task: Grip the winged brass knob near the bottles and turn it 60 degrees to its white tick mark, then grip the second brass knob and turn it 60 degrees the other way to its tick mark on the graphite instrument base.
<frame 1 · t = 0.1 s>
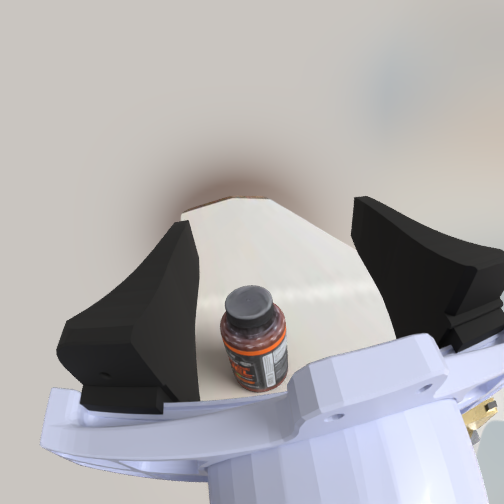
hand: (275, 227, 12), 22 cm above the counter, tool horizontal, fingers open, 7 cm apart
supplement bottle: (261, 372, 30), on the counter
knob 2: (463, 423, 16), point 4 cm above the counter, hinge at 0.0°
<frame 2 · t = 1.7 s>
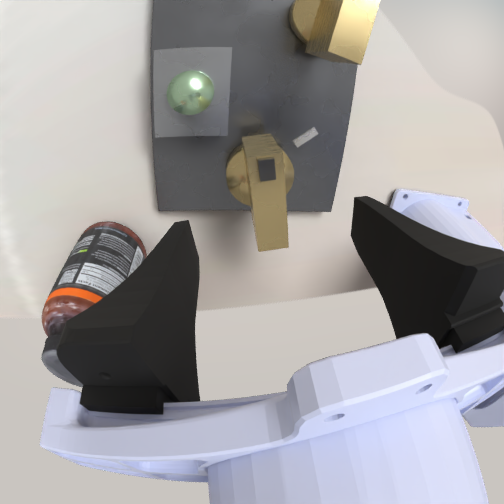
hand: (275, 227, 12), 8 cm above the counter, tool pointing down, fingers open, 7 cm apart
supplement bottle: (114, 248, 22), on the counter
knob 2: (340, 14, 10), point 4 cm above the counter, hinge at 0.0°
instrument base: (253, 88, 15), on the counter
knob 1: (263, 186, 15), point 4 cm above the counter, hinge at 0.0°
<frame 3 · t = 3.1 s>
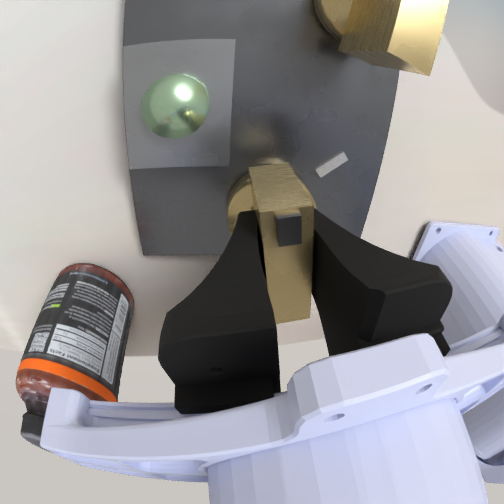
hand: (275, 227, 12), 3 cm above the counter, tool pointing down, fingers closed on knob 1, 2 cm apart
supplement bottle: (96, 290, 18), on the counter
knob 2: (389, 1, 6), point 4 cm above the counter, hinge at 0.0°
instrument base: (263, 97, 11), on the counter
knob 1: (278, 237, 12), point 4 cm above the counter, hinge at 0.0°, touching gripper
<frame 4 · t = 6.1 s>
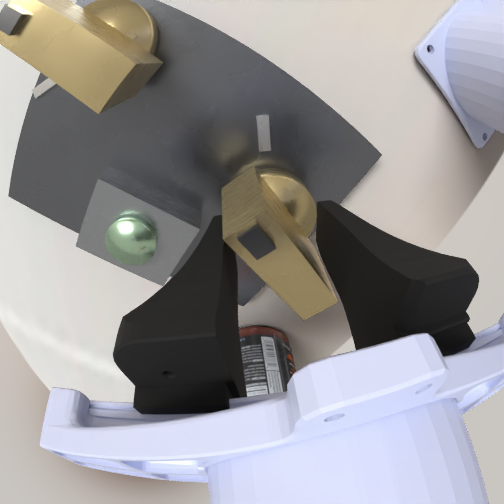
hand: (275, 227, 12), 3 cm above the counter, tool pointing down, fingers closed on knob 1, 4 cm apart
supplement bottle: (252, 342, 23), on the counter
knob 2: (84, 43, 6), point 4 cm above the counter, hinge at 0.0°
instrument base: (173, 155, 13), on the counter
knob 1: (278, 237, 12), point 4 cm above the counter, hinge at -29.4°, touching gripper
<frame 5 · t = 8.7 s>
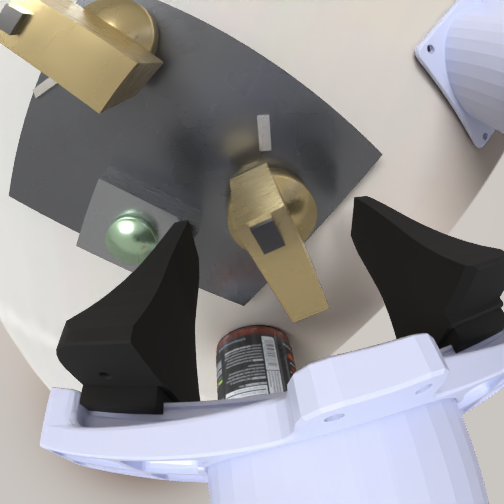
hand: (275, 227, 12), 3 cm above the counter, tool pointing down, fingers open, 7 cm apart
supplement bottle: (252, 342, 23), on the counter
knob 2: (85, 43, 6), point 4 cm above the counter, hinge at 0.0°
instrument base: (174, 154, 13), on the counter
knob 1: (278, 237, 12), point 4 cm above the counter, hinge at -39.5°
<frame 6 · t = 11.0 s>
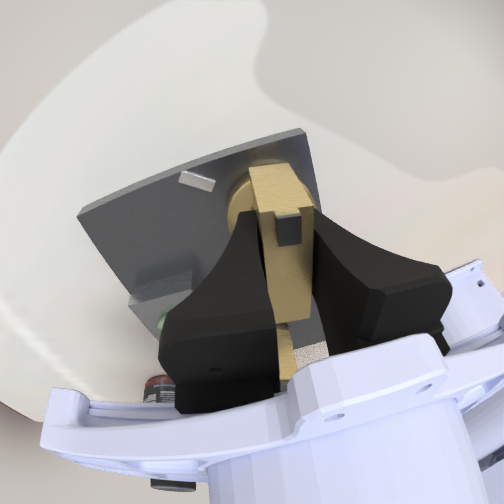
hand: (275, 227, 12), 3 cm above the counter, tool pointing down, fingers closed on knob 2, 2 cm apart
supplement bottle: (173, 384, 26), on the counter
knob 2: (278, 237, 12), point 4 cm above the counter, hinge at 0.0°, touching gripper
instrument base: (231, 281, 18), on the counter
knob 1: (267, 368, 18), point 4 cm above the counter, hinge at -41.8°
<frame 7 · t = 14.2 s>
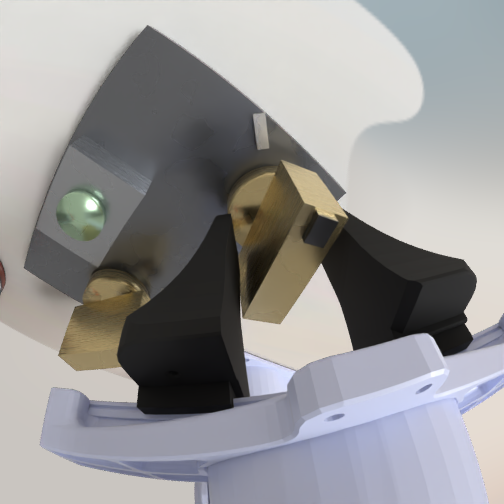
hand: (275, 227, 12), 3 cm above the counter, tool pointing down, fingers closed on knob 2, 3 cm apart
knob 2: (279, 236, 11), point 4 cm above the counter, hinge at 32.0°, touching gripper
instrument base: (153, 222, 15), on the counter
knob 1: (108, 326, 14), point 4 cm above the counter, hinge at -42.5°
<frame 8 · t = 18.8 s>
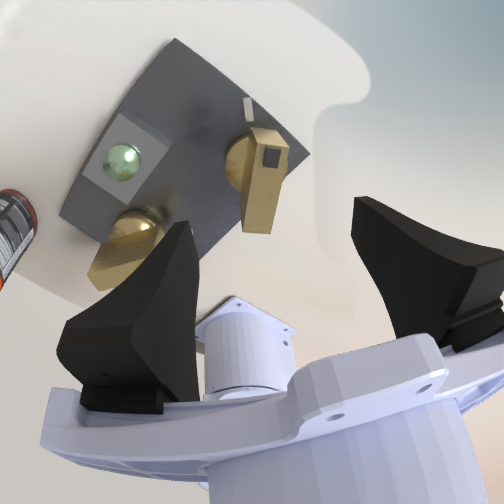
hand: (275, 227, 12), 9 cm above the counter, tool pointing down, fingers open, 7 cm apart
supplement bottle: (17, 213, 20), on the counter
knob 2: (259, 175, 17), point 4 cm above the counter, hinge at 44.9°
instrument base: (170, 176, 20), on the counter
knob 1: (129, 253, 19), point 4 cm above the counter, hinge at -42.6°
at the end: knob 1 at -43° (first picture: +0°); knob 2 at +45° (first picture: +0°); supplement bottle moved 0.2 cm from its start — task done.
